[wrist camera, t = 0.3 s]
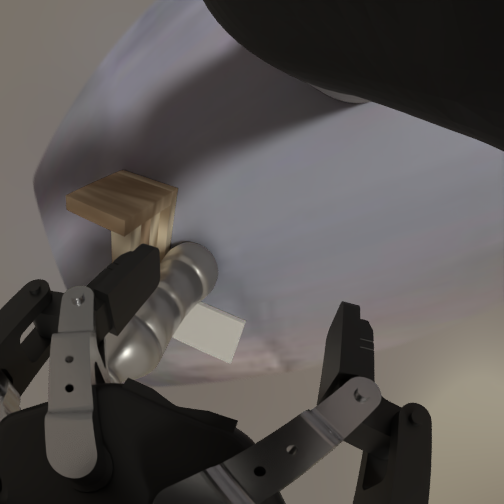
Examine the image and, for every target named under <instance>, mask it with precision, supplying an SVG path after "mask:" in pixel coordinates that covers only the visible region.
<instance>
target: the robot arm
mask: <svg viewBox="0 0 504 504" xmlns="http://www.w3.org/2000/svg"><path fill="white" fill-rule="evenodd" d="M203 1H204V3H205V4H206V6H207V8H208V9H209V11H210V12H211V14H212V15H213V16H214V18H215V19H216V20H217V22H218V23H219V24H220V25H221V26H222V27H223V28H224V29H225V30H226V32H227V33H228V34H230V35H231V36H232V37H233V38H234V39H235V40H236V41H237V42H238V43H240V44H241V45H242V46H243V47H245V48H246V49H247V50H249V51H250V52H251V53H253V54H254V55H256V56H257V57H259V58H260V59H262V60H263V61H265V62H267V63H268V64H270V65H272V66H274V67H276V68H277V69H279V70H281V71H283V72H285V73H287V74H289V75H291V76H293V77H295V78H297V79H299V80H302V81H304V82H305V83H307V84H309V85H311V86H313V87H314V88H316V89H318V90H319V91H321V92H322V93H324V94H326V95H327V96H329V97H331V98H334V99H337V100H340V101H344V102H348V103H365V102H375V103H378V104H381V105H384V106H387V107H390V108H393V109H395V110H398V111H401V112H404V113H406V114H409V115H412V116H414V117H417V118H420V119H423V120H425V121H428V122H431V123H433V124H436V125H439V126H441V127H444V128H447V129H449V130H452V131H455V132H458V133H461V134H463V135H466V136H469V137H472V138H474V139H477V140H479V141H482V142H484V143H487V144H489V145H491V146H493V147H496V148H498V149H500V150H502V151H504V0H203ZM159 282H160V251H159V249H158V248H157V247H154V246H151V245H147V244H144V243H142V244H141V245H139V246H138V247H137V248H136V249H135V250H134V251H133V252H132V251H128V252H126V253H124V254H122V255H120V256H119V257H118V258H116V259H115V260H114V261H113V263H111V264H110V265H109V266H108V267H107V269H106V268H105V269H104V270H103V271H102V272H101V273H100V274H99V275H98V276H97V277H96V278H95V279H94V280H93V281H91V282H90V283H89V284H88V285H87V286H75V287H72V288H70V289H68V290H67V291H66V292H65V293H61V292H53V291H51V290H50V287H49V284H48V283H47V282H46V281H45V280H39V279H38V280H33V281H31V282H29V283H27V284H26V285H25V286H24V287H23V288H22V289H21V290H20V291H19V292H18V293H17V294H16V295H15V296H13V297H12V299H10V300H9V302H7V303H6V305H4V307H3V308H2V309H1V310H0V504H286V503H285V501H284V499H283V498H282V495H281V493H280V491H281V490H282V489H284V488H285V487H286V486H288V485H289V484H290V483H292V482H293V481H294V480H296V479H297V478H299V477H300V476H301V475H303V474H304V473H305V472H306V471H308V470H309V469H310V468H311V467H313V466H314V465H315V464H316V463H318V462H319V461H320V460H321V459H323V458H324V457H325V456H326V455H327V454H328V453H330V452H331V451H332V450H333V449H334V448H335V447H336V446H338V445H339V444H340V443H341V442H342V441H345V442H347V443H349V444H351V445H353V446H355V447H357V448H359V449H361V450H363V454H362V460H361V466H360V471H359V476H358V482H357V486H356V491H355V496H354V501H353V504H428V500H429V489H430V476H431V453H432V451H431V450H432V428H431V427H432V423H431V416H430V414H429V413H428V411H427V409H425V407H423V406H422V405H420V404H417V403H408V404H406V405H405V406H403V407H399V406H397V405H395V404H393V403H391V402H389V401H388V400H386V399H384V398H383V397H382V396H381V391H380V389H379V387H378V386H377V384H376V383H375V381H374V351H373V350H374V343H373V341H374V340H373V330H372V328H371V326H370V324H369V322H368V321H366V320H363V319H360V306H358V305H355V304H351V303H347V302H343V301H342V302H341V304H340V306H339V308H338V311H337V313H336V315H335V317H334V320H333V322H332V324H331V326H330V329H329V331H328V335H327V339H326V346H325V353H324V361H323V368H322V376H321V382H320V388H319V395H318V401H317V406H316V407H315V408H314V409H312V410H306V411H304V412H303V413H301V414H300V415H298V416H297V417H295V418H294V419H293V420H291V421H290V422H288V423H287V424H285V425H284V426H282V427H281V428H279V429H278V430H276V431H275V432H273V433H272V434H270V435H268V436H267V437H265V438H264V439H262V440H261V441H259V442H257V443H256V444H255V443H254V442H253V440H252V439H250V438H249V437H248V436H247V435H246V434H244V433H243V432H242V431H240V430H239V429H237V428H236V425H237V422H238V421H237V420H234V419H231V418H228V417H225V416H222V415H219V414H216V413H213V412H210V411H204V410H197V409H190V408H183V407H178V406H175V405H174V404H172V403H171V402H170V401H168V400H167V399H165V398H164V397H163V396H162V395H160V394H159V393H158V392H156V391H155V390H154V389H152V388H150V387H148V386H145V385H143V384H141V383H139V382H137V381H135V380H133V379H130V378H127V380H126V381H125V383H124V384H121V383H111V382H110V378H109V373H108V362H107V349H106V338H105V336H106V335H107V334H108V332H109V333H111V334H113V335H115V336H118V335H119V334H120V333H121V331H122V330H123V329H124V328H125V326H126V325H127V324H128V323H129V321H130V320H131V319H132V318H133V316H134V315H135V314H136V313H137V312H138V310H139V309H140V308H141V307H142V305H143V304H144V303H145V302H146V301H147V299H148V298H149V297H150V296H151V294H152V293H153V292H154V291H155V290H156V288H157V287H158V284H159ZM32 322H33V323H34V325H35V328H34V329H33V330H32V331H31V333H30V334H29V335H28V336H27V337H26V338H25V340H24V341H23V342H22V343H21V344H20V337H21V335H22V333H23V332H24V331H25V330H26V329H27V327H28V326H29V325H30V324H31V323H32ZM49 357H50V361H49V383H48V384H49V387H48V402H45V403H42V404H39V405H36V406H33V407H30V408H26V409H23V410H21V408H20V407H19V405H20V396H21V395H22V393H23V392H24V391H25V389H26V388H27V387H28V385H29V384H30V382H31V381H32V379H33V378H34V377H35V375H36V374H37V373H38V371H39V370H40V369H41V367H42V366H43V365H44V363H45V362H46V360H47V359H48V358H49Z"/></svg>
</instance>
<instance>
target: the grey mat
mask: <svg viewBox="0 0 504 504" xmlns="http://www.w3.org/2000/svg"><path fill="white" fill-rule="evenodd" d="M245 323H246V321H245V320H243V319H240V318H238V317H236V316H233V315H231V314H228V313H226V312H224V311H221V310H219V309H217V308H214V307H212V306H210V305H208V304H205V303H203V302H201V301H200V302H199V303H197V305H196V306H195V307H194V308H193V309H192V310H191V311H190V312H189V313H188V314H187V315H186V316H185V318H184V319H183V321H182V322H181V324H180V325H179V327H178V328H177V330H176V331H175V333H174V335H173V336H172V337H173V338H175V339H177V340H179V341H181V342H183V343H185V344H187V345H189V346H192V347H194V348H196V349H198V350H200V351H202V352H205V353H207V354H209V355H211V356H214V357H216V358H218V359H220V360H223V361H225V362H227V363H230V364H231V362H232V360H233V357H234V354H235V351H236V348H237V345H238V343H239V340H240V337H241V334H242V331H243V328H244V325H245Z"/></svg>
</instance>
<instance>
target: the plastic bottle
mask: <svg viewBox="0 0 504 504" xmlns="http://www.w3.org/2000/svg"><path fill="white" fill-rule="evenodd" d="M217 278H218V266H217V263H216V260H215V258H214V256H213V255H212V253H211V252H210V251H209V250H208V249H207V248H205V247H204V246H202V245H200V244H197V243H192V242H185V243H181V244H180V245H178V246H176V247H174V248H172V249H171V250H170V251H169V252H168V253H167V254H166V255H165V257H164V258H163V259H162V261H161V263H160V282H159V284H158V287H157V288H156V290H155V291H154V292H153V293H152V294H151V296H150V297H149V298H148V299H147V301H146V302H145V303H144V304H143V305H142V307H141V308H140V309H139V310H138V312H137V313H136V314H135V315H134V316H133V318H132V319H131V320H130V321H129V323H128V324H127V325H126V326H125V328H124V329H123V330H122V331H121V333H120V334H119V335H118V336H115V335H113V334H111V333H109V332H108V334H107V335H106V336H105V338H106V349H107V362H108V373H109V378H110V382H111V383H122V382H124V381H126V380H127V378H130V379H133V380H134V379H137V378H140V377H143V376H146V375H148V374H149V373H150V372H152V371H153V370H154V369H155V368H156V367H157V365H158V364H159V362H160V360H161V358H162V356H163V354H164V352H165V350H166V348H167V346H168V344H169V342H170V340H171V338H172V336H173V335H174V333H175V331H176V330H177V328H178V327H179V325H180V324H181V322H182V321H183V319H184V318H185V316H186V315H187V314H188V313H189V312H190V311H191V310H192V309H193V308H194V307H195V306H196V305H197V303H199V302H200V301H202V300H203V299H204V298H205V297H206V296H207V295H208V294H209V293H210V292H211V291H212V290H213V288H214V286H215V284H216V281H217Z"/></svg>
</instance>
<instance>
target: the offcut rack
mask: <svg viewBox="0 0 504 504" xmlns="http://www.w3.org/2000/svg"><path fill="white" fill-rule="evenodd" d="M177 192H178V188H176V187H173V186H170V185H167V184H164V183H161V182H158V181H155V180H152V179H149V178H146V177H143V176H140V175H137V174H134V173H131V172H128V171H125V170H121V171H118V172H116V173H114V174H111V175H109V176H107V177H104V178H102V179H100V180H97V181H95V182H93V183H91V184H89V185H86V186H84V187H82V188H80V189H78V190H76V191H74V192H72V193H70V194H67V195H66V208H67V210H68V211H70V212H72V213H74V214H77V215H79V216H81V217H83V218H85V219H87V220H89V221H91V222H93V223H96V224H98V225H100V226H102V227H104V228H106V229H109V230H111V238H112V263H113V261H114V260H115V259H116V258H118V257H119V256H120V255H122V254H124V253H126V252H128V251H132V252H133V251H134V250H135V249H136V248H137V247H138V246H139V245H141V244H142V243H144V244H147V245H151V246H154V247H157V248H158V249H159V251H160V263H161V261H162V259H163V258H164V257H165V255H166V254H167V253H168V252H169V251H170V245H171V236H172V228H173V220H174V213H175V206H176V199H177Z"/></svg>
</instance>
